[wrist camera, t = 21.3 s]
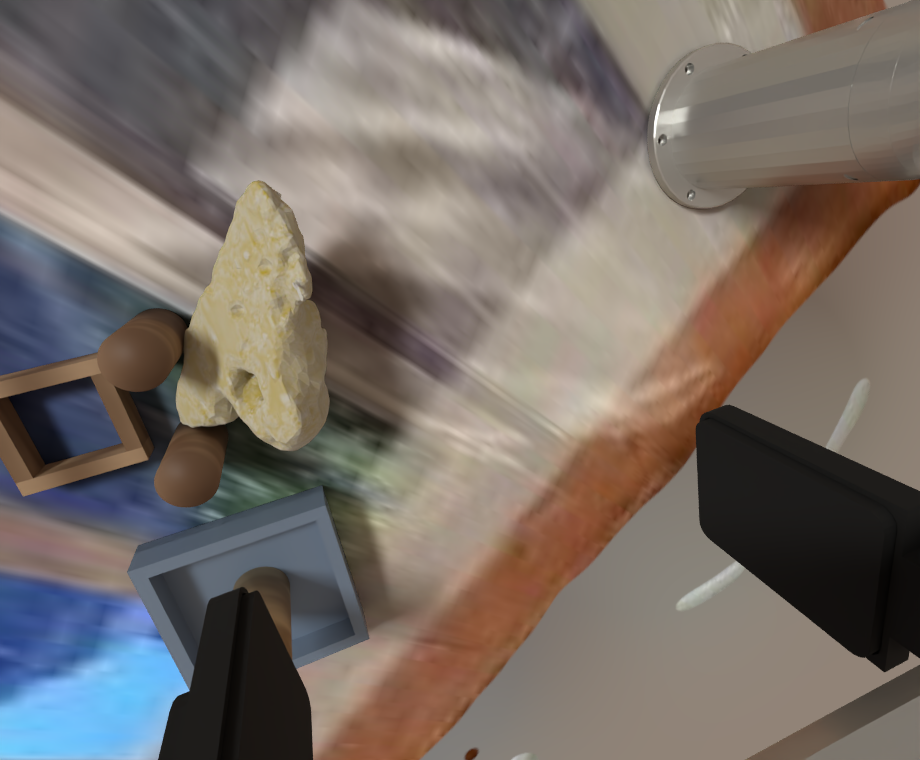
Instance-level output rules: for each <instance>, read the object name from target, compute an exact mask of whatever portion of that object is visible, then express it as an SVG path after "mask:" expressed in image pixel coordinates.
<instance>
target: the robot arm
mask: <svg viewBox="0 0 920 760" xmlns="http://www.w3.org/2000/svg"><path fill="white" fill-rule="evenodd" d="M647 147H648V154H649V160H650V164H651V167H652V170H653V173H654V176H655V178H656V180H657V181H658V183H659V185H660V187H661V188H662V189H663V190H664V192H665V193H666V194H667V195H668V196H669V197H670V198H672V199H673V200H674V201H676V202H677V203H679V204H681V205H684V206H686V207H690V208H698V209H702V208H714V207H718V206H722V205H724V204H726V203H728V202H730V201H732V200H734V199H735V198H736V197H738V196H739V195H740V194H742V193H743V192H744V191H745V190H746V189H747V188H752V187H773V186H794V185H814V184H835V183H856V182H877V181H898V180H914V179H920V0H911V1H909V2H907V3H904V4H901V5H898V6H895V7H891V8H888V9H885V10H882V11H879V12H876V13H873V14H870V15H867V16H864V17H861V18H858V19H855V20H852V21H849V22H846V23H843V24H840V25H837V26H834V27H831V28H828V29H825V30H822V31H819V32H815V33H812V34H809V35H806V36H803V37H800V38H797V39H794V40H791V41H788V42H785V43H782V44H779V45H776V46H773V47H770V48H767V49H764V50H761V51H758V52H755V53H751V52H749V51H748V50H746V49H744V48H743V47H741V46H739V45H735V44H731V43H715V44H711V45H708V46H704V47H702V48H700V49H697V50H695V51H693V52H691V53H689V54H688V55H687V56H685V57H684V58H682V59H681V60H680V61H679V62H678V63H677V64H676V65H675V66H674V67H673V68H672V69H671V70H670V71H669V73H668V74H667V76H666V77H665V79H664V80H663V82H662V83H661V85H660V87H659V90H658V92H657V94H656V96H655V98H654V101H653V105H652V108H651V112H650V116H649V123H648V130H647ZM696 448H697V471H698V495H699V518H700V525H701V528H702V530H703V532H704V534H705V535H706V536H707V537H708V538H709V539H710V540H711V541H712V542H714V543H715V544H716V545H717V546H719V547H720V548H721V549H722V550H724V551H725V552H726V553H727V554H729V555H730V556H731V557H732V558H734V559H735V560H736V561H737V562H739V563H740V564H741V565H742V566H744V567H745V568H746V569H747V570H749V571H750V572H751V573H752V574H754V575H755V576H756V577H757V578H759V579H760V580H761V581H762V582H764V583H765V584H766V585H767V586H769V587H770V588H771V589H772V590H774V591H775V592H776V593H778V594H779V595H780V596H781V597H782V598H784V599H785V600H786V601H787V602H789V603H790V604H791V605H792V606H794V607H795V608H796V609H797V610H799V611H800V612H801V613H802V614H804V615H805V616H806V617H808V618H809V619H810V620H811V621H812V622H814V623H815V624H816V625H817V626H819V627H820V628H821V629H822V630H824V631H825V632H826V633H827V634H829V635H830V636H831V637H832V638H833V639H835V640H836V641H837V642H839V643H840V644H841V645H842V646H843V647H845V648H846V649H847V650H848V651H850V652H851V653H853V654H854V655H856V656H858V657H864V658H865V657H866V658H867V659H868V660H869V661H871V662H872V663H873V664H874V665H876V666H877V667H878V668H880V669H881V670H882V671H883V672H886V671H888V670H890V669H891V668H894V667H895V666H897V665H899V664H901V663H903V662H904V661H906V660H908V657H909V651H910V652H912V653H913V654H914V655H916V656H917V657H919V658H920V491H918V490H916V489H914V488H912V487H909V486H907V485H905V484H903V483H901V482H898V481H896V480H894V479H892V478H890V477H888V476H885V475H883V474H881V473H879V472H876V471H874V470H872V469H870V468H868V467H865V466H863V465H861V464H859V463H857V462H855V461H853V460H850V459H848V458H846V457H844V456H842V455H839V454H837V453H835V452H833V451H831V450H828V449H826V448H824V447H822V446H820V445H817V444H815V443H813V442H811V441H809V440H807V439H804V438H802V437H800V436H798V435H796V434H793V433H791V432H789V431H787V430H785V429H782V428H780V427H778V426H776V425H774V424H772V423H769V422H767V421H765V420H763V419H761V418H758V417H756V416H754V415H752V414H750V413H747V412H745V411H743V410H741V409H739V408H737V407H734V406H731V405H725V406H722V407H720V408H717V409H714V410H712V411H709V412H706V413H704V414H703V415H702V416H701V418H700V422H699V423H698V424H697V426H696ZM158 760H313V747H312V722H311V707H310V701H309V697H308V694H307V691H306V688H305V686H304V684H303V682H302V680H301V678H300V676H299V674H298V672H297V670H296V667H295V665H294V663H293V661H292V659H291V657H290V655H289V653H288V651H287V649H286V646H285V644H284V642H283V640H282V638H281V636H280V634H279V632H278V630H277V628H276V625H275V623H274V621H273V619H272V617H271V615H270V613H269V611H268V609H267V607H266V604H265V602H264V600H263V598H262V596H261V594H260V593H259V591H257V590H255V591H253V592H250V593H249V592H248V591H247V589H246V588H245V587H240V588H237V589H235V590H232V591H229V592H227V593H224V594H221V595H219V596H216V597H213V598H211V599H210V600H209V602H208V605H207V609H206V614H205V619H204V624H203V628H202V633H201V638H200V643H199V648H198V652H197V657H196V662H195V667H194V672H193V676H192V681H191V686H190V691H189V692H186V693H184V694H182V695H179V696H177V698H176V699H175V700H174V701H173V704H172V706H171V709H170V712H169V717H168V721H167V725H166V729H165V733H164V738H163V742H162V746H161V750H160V754H159V758H158ZM746 760H920V665H919V666H917V667H915V668H913V669H911V670H909V671H907V672H906V673H904V674H902V675H900V676H898V677H896V678H895V679H893V680H891V681H889V682H887V683H885V684H883V685H882V686H880V687H878V688H876V689H874V690H872V691H871V692H869V693H867V694H865V695H863V696H861V697H859V698H858V699H856V700H854V701H852V702H850V703H848V704H847V705H845V706H843V707H841V708H839V709H837V710H835V711H834V712H832V713H830V714H828V715H826V716H824V717H823V718H821V719H819V720H817V721H815V722H813V723H812V724H810V725H808V726H806V727H804V728H803V729H801V730H799V731H797V732H795V733H793V734H791V735H790V736H788V737H786V738H784V739H782V740H780V741H779V742H777V743H775V744H773V745H771V746H769V747H768V748H766V749H764V750H762V751H760V752H758V753H757V754H755V755H753V756H751V757H750V758H748V759H746Z"/></svg>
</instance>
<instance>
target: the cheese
mask: <svg viewBox="0 0 920 760" xmlns="http://www.w3.org/2000/svg"><path fill="white" fill-rule="evenodd" d="M280 198H281V194H280V193H278V192H277V191H275V190H273V189H272V188H271V187H270V186H268V185H267V184H266V183H265V182H263V181H259V180H258V181H254V182H252V183H251V184H249V185H248V187H247V189H246V191H245V193H244V194H243V195H242V196H241V197H240V199H239V200H238V201H237V203H236V207H235V211H234V218H233V221H232V223H231V225H230V227H229V230H228V233H227V236H226V240H225V243H224V245H223V246H222V248H221V249H220V251H219V255H218V258H217V261H216V263H215V265H214V267H213V272H212V282H211V283H210V285H208V286H207V287H206V289H205V291H204V293H203V294H202V296H201V297H200V298H199V300H198V304H197V307H196V310H195V312H194V314H193V315H192V319H191V322H190V326H189V328H188V329H186V330H185V336H184V347H183V352H184V365H183V368H182V372H181V376H180V379H179V381H178V385H177V393H176V407H177V410H178V412H179V416H180V421H181V422H182V424H185V425H188V426H190V427H192V428H195V427H200V426H206V427H210V426H217V425H223V424H227V423H230V422H232V421H234V420H235V419H237V418H238V417H240V418H241V419H242V420H243V421H244V422H245V423H246V424H247V425H248V426H249V428H250V429H251V430H252V432H253V433H254V434H255V435H256V436H257V437H258V438H260V439H261V440H263V441H264V442H266V443H268V444H270V445H272V446H274V447H275V448H277V449H280V450H285V451H295V450H298V449H300V448H302V447H303V446H305V445H306V444H308V443H309V442H310V441H311V440H312V439H313V438H314V437H315V436H316V435H317V434H318V433H319V431H320V430H321V428H322V427H323V425H324V424H325V422H326V418H327V415H328V411H329V403H330V399H329V394H328V390H327V387H326V384H325V382H324V376H325V372H326V368H327V347H328V341H327V332H326V330H325V329H324V328H321V319H320V314H319V311H318V309H317V306H316V304H315V303H314V302H313V301H311V300H307V299H309V298H310V297H311V295H312V277H311V274H310V272H309V270H308V267H307V261H306V258H305V246H304V239H303V235H302V234H301V232H300V230H299V228H298V225H297V221H296V218H295V216H294V213H293V211H292V209H291V208H290V207H289V206H288V205H287V204H286V203H285V202H283V201H282V200H281V199H280Z"/></svg>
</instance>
